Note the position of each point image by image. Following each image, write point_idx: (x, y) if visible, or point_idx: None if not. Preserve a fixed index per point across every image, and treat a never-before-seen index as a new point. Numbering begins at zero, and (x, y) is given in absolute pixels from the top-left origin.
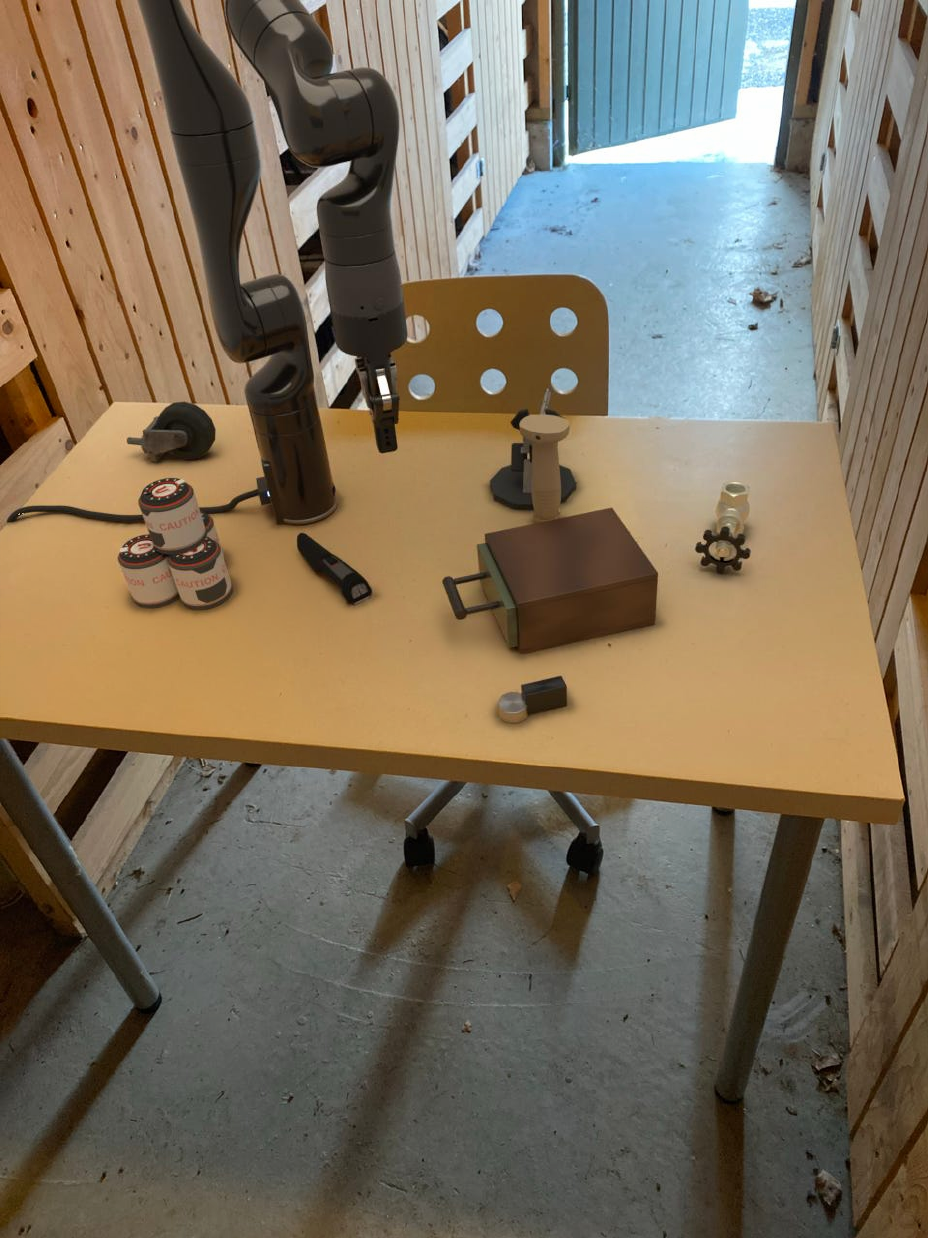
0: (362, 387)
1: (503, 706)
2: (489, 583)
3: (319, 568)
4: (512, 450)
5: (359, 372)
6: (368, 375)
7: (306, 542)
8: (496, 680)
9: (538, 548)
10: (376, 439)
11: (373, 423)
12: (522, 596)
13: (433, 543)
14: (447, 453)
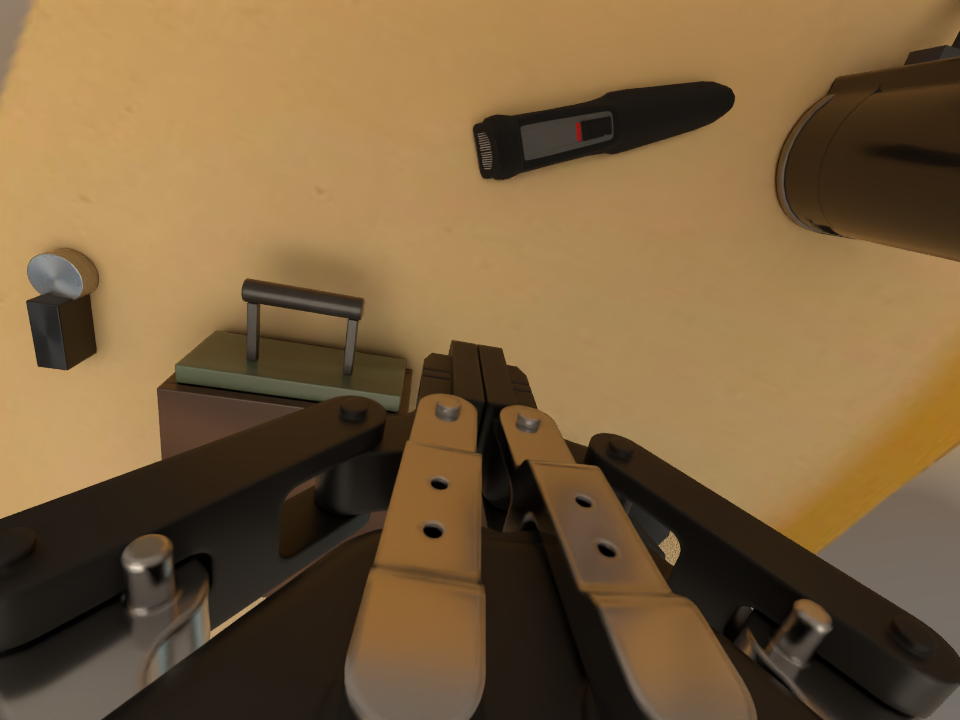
0: (547, 512)
1: (47, 260)
2: (316, 369)
3: (601, 98)
4: (650, 547)
5: (374, 698)
6: (321, 718)
7: (691, 99)
8: (161, 281)
9: (315, 479)
10: (469, 360)
11: (500, 395)
12: (176, 403)
13: (565, 335)
14: (786, 451)
